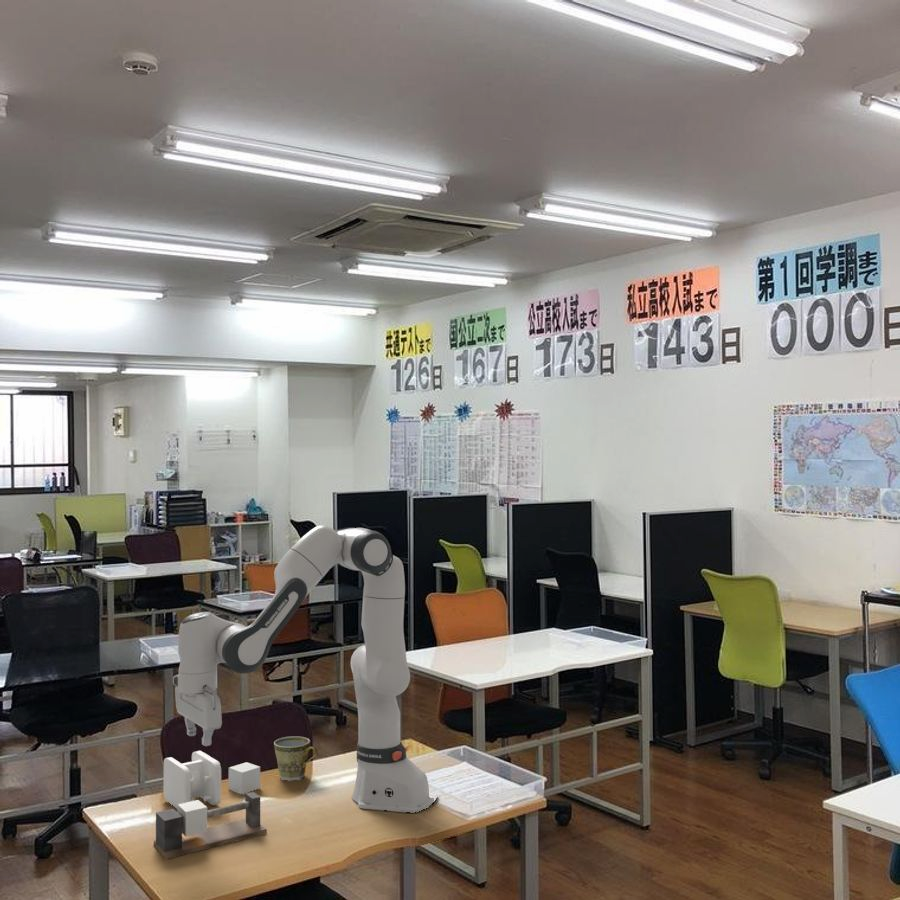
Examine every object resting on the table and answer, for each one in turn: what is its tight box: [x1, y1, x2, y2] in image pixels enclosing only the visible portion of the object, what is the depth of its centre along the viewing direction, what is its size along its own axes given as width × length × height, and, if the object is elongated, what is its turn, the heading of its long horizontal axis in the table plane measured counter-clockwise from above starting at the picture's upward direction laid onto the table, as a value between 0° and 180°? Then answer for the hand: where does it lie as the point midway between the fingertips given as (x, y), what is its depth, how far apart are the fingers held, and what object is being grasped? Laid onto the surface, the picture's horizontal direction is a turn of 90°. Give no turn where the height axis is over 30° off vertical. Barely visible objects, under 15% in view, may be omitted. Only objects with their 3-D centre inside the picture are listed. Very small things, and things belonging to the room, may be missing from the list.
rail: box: [153, 791, 268, 859], centre depth 215 cm, size 24×9×8 cm, turn 126°
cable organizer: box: [163, 750, 222, 809], centre depth 238 cm, size 15×11×12 cm
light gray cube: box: [228, 761, 261, 795], centre depth 248 cm, size 6×6×6 cm
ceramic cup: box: [273, 736, 318, 781], centre depth 256 cm, size 13×10×10 cm
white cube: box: [176, 799, 208, 837], centre depth 212 cm, size 5×6×6 cm
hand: (199, 740), depth 218 cm, fingers open, 8 cm apart
